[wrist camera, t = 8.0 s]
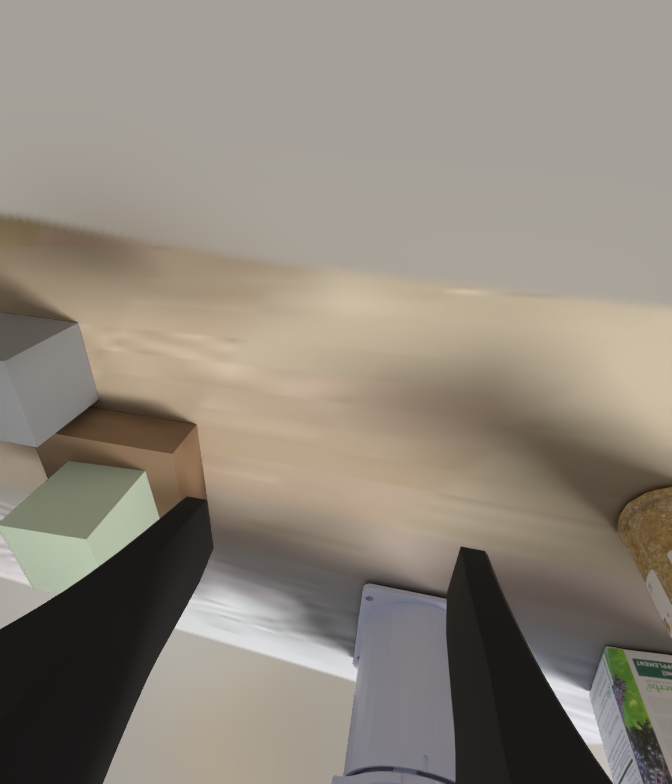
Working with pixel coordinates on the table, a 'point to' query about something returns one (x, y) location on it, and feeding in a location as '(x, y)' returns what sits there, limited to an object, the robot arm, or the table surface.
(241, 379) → the table surface
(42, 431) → the grey block
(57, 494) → the sage block
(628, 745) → the syrup box
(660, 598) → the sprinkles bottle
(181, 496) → the walnut block
